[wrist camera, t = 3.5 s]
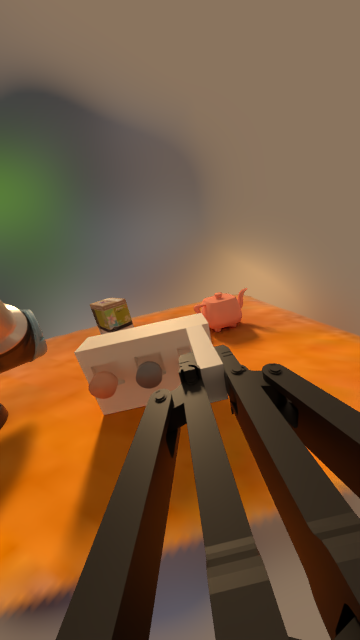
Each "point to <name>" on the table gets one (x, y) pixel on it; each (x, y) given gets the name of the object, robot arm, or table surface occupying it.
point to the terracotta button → (103, 385)
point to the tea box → (111, 315)
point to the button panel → (138, 358)
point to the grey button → (149, 375)
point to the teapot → (222, 310)
